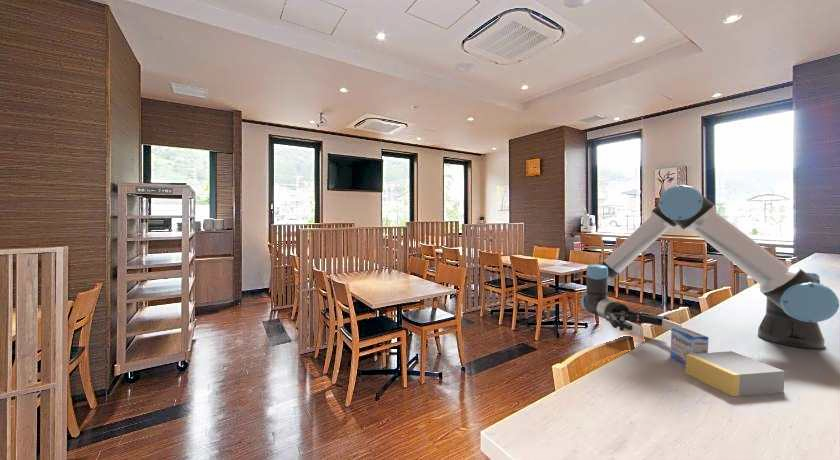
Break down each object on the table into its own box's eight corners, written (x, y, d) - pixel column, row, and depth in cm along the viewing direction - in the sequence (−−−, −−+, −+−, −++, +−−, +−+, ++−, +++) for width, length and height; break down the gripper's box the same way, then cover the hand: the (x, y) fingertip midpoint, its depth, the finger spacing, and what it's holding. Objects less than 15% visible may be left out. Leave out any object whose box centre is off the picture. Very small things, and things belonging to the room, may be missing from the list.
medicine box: (669, 356, 102) (670, 327, 102) (683, 356, 103) (684, 327, 102) (692, 368, 94) (693, 336, 94) (708, 367, 95) (709, 336, 94)
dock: (731, 369, 94) (731, 351, 93) (783, 392, 82) (784, 371, 82) (685, 372, 92) (686, 354, 91) (732, 396, 80) (733, 375, 79)
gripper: (643, 320, 130) (696, 340, 109) (581, 322, 127) (624, 344, 106) (643, 300, 130) (697, 316, 109) (582, 302, 126) (625, 320, 105)
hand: (661, 330), depth 107 cm, fingers open, 13 cm apart
